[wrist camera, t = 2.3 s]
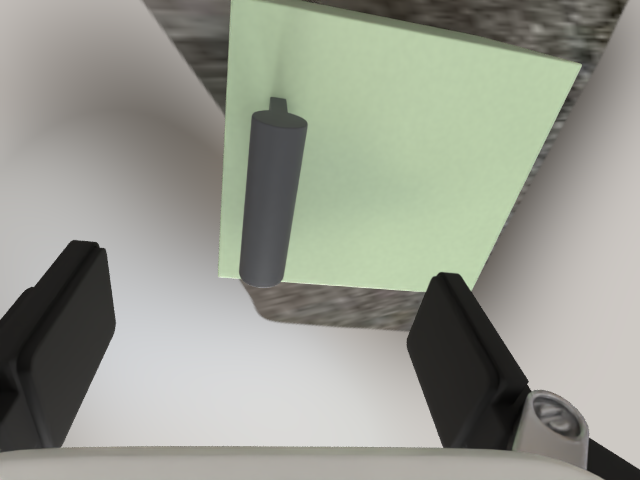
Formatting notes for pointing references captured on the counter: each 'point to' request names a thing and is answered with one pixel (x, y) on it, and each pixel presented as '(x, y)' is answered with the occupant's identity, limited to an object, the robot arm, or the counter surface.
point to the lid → (372, 148)
